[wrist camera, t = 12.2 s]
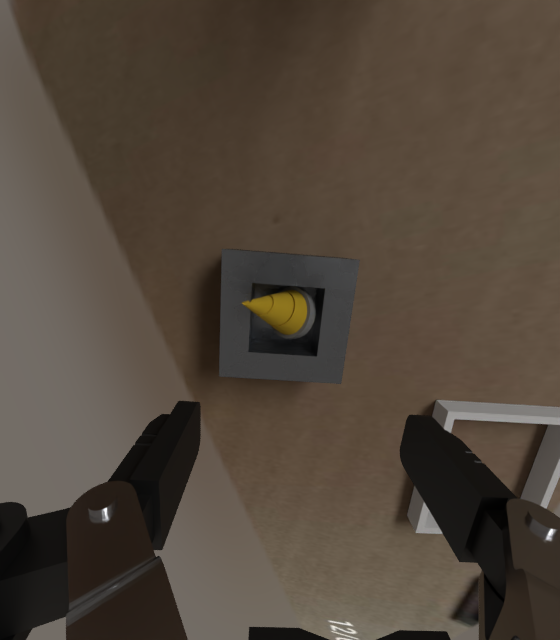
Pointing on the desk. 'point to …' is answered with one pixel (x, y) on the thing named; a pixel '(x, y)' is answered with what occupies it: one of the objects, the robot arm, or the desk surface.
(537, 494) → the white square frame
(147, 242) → the desk surface
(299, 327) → the drill bit
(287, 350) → the bit holder
